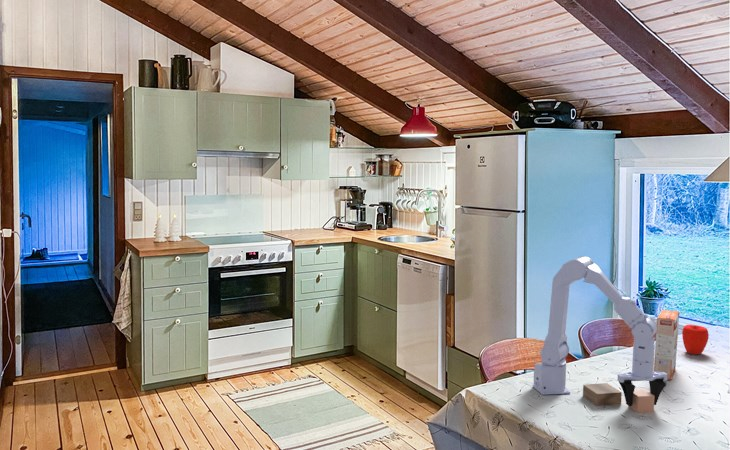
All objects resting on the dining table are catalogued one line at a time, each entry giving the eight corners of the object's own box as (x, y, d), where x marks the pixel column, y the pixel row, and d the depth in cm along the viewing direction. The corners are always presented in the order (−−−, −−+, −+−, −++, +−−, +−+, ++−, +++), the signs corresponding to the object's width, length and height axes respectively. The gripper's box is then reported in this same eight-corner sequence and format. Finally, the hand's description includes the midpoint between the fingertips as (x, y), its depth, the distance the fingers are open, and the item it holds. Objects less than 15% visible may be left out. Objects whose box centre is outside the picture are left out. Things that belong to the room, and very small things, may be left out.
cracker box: (672, 381, 208) (675, 319, 206) (652, 377, 211) (655, 317, 209) (676, 369, 220) (680, 311, 218) (658, 366, 223) (661, 308, 221)
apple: (708, 352, 240) (709, 324, 239) (706, 358, 232) (708, 329, 231) (682, 348, 244) (683, 321, 243) (679, 354, 237) (681, 326, 236)
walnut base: (596, 406, 187) (597, 394, 186) (582, 397, 194) (583, 384, 194) (621, 405, 188) (621, 392, 188) (606, 395, 196) (606, 383, 196)
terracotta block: (637, 413, 182) (638, 396, 181) (628, 406, 187) (629, 390, 186) (653, 412, 182) (654, 395, 182) (643, 405, 187) (644, 389, 187)
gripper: (627, 364, 178) (625, 410, 179) (674, 362, 180) (672, 408, 181) (614, 357, 185) (612, 401, 186) (660, 355, 187) (657, 399, 188)
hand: (641, 404), depth 184 cm, fingers open, 7 cm apart
